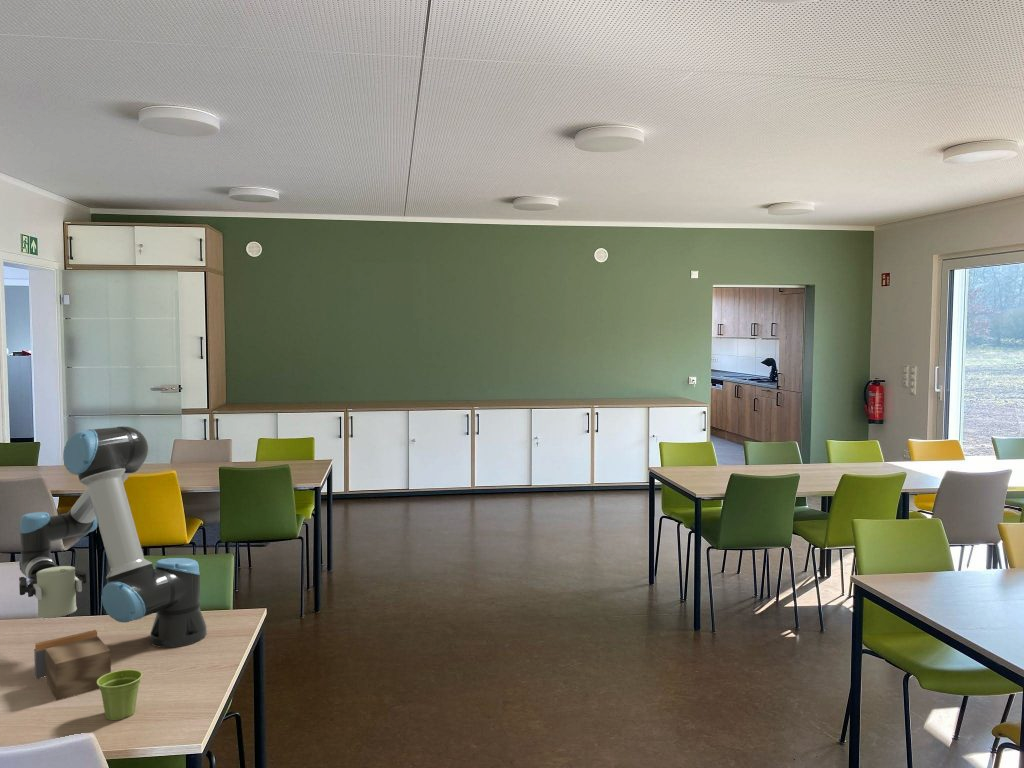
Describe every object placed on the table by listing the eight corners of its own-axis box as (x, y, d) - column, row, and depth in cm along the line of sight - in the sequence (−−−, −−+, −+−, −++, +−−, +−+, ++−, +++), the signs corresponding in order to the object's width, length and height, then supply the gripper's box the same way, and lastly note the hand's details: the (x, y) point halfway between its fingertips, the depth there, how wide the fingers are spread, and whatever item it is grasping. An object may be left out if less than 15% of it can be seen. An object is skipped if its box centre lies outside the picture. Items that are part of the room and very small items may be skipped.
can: (59, 619, 200) (57, 574, 199) (29, 617, 201) (27, 573, 201) (84, 607, 209) (83, 564, 208) (55, 605, 210) (54, 563, 210)
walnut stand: (98, 670, 198) (97, 636, 197) (111, 685, 189) (110, 650, 188) (46, 683, 190) (45, 648, 189) (56, 700, 181) (55, 664, 180)
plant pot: (108, 705, 179) (107, 669, 178) (149, 703, 179) (148, 668, 179) (89, 725, 169) (88, 687, 169) (133, 723, 170) (132, 686, 170)
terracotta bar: (95, 635, 203) (95, 629, 203) (97, 637, 202) (97, 631, 202) (35, 649, 194) (35, 643, 194) (36, 651, 192) (36, 645, 192)
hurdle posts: (96, 660, 204) (96, 635, 203) (99, 663, 202) (98, 637, 202) (34, 675, 194) (34, 649, 194) (36, 678, 192) (36, 652, 192)
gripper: (85, 577, 225) (105, 595, 209) (-1, 593, 211) (13, 614, 194) (84, 552, 225) (104, 568, 208) (-2, 567, 211) (12, 585, 194)
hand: (60, 590), depth 201 cm, fingers closed on can, 9 cm apart
